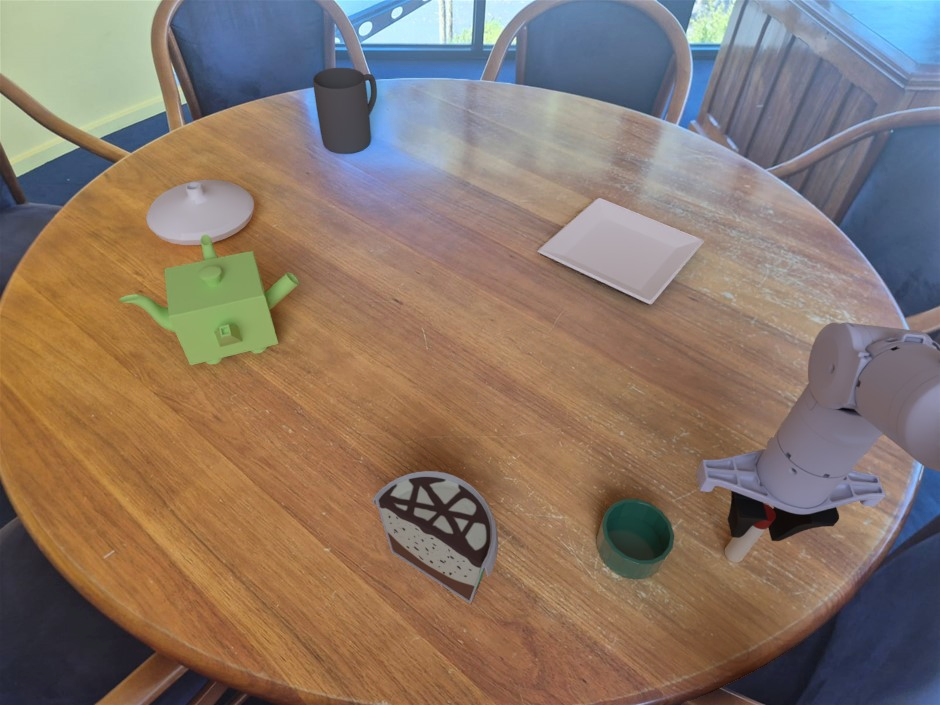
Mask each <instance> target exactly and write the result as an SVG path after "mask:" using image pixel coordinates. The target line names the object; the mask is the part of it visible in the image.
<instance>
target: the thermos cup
mask: <svg viewBox="0 0 940 705" xmlns="http://www.w3.org/2000/svg"><path fill="white" fill-rule="evenodd" d="M675 538H676V537H675V533H674V530H673V525H672V522H671V521H670V519H669V518H668V517H667V516H666V515H665V512H663V511H662V510H661V509H660V508H658V507H657V506H656V505H654V504H652V503H651V502H648V501H645V500H643V499H639V498H623V499H621V500H618V501H616V502H614V503H612V504H611V505H610V506H609V507H608V509H606V511H605V512H604V515H603V518H602V519H601V522H600V525H599V528H598V532H597V535H596V548H597V553H598V554H599V557H600V559H601V560H602V562H603V563H604V565H606V566H607V568H608V569H610V570H611V571H612V573H615V574H616V575H618V576H620V577H622V578H624V579H625V578H626V579H629V580H644V579H648V578H650V577H653V576H654V575H656V574H657V573H658V572H659V571H660V569H661V568H662V567H663V565H664V564H665V562H666V561H667V559H668V557H669V556H670V555H671V552H672V550H673V549H674V542H675Z"/></svg>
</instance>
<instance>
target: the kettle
mask: <svg viewBox="0 0 940 705" xmlns="http://www.w3.org/2000/svg"><path fill="white" fill-rule="evenodd" d="M200 246H201V251H202V257H203V260H199V261H195V262H191V263H184V264H179V265H175V266H170V267H167V268H164V269H163V271H164V281H165V292H166V302H167V307H165V306H162V305H161V304H160V303H159V304H158V302H156V300H153V298H151V297H149V296H147V295H144V294H139V293H134V294H128V295H124V296H121V297H120V298H118V301H119V303H124V304H125V303H126V304H131V305H136V306H138V307H140V308H142V309H143V311H145V312H146V313H147V314H148V315H149V316H150V317H151V318H152V319H153V320H154V321H155V322H156V323H157V324H158V325H159V326H160V327H162V329H164V330H166V331H169V332H172V333H175V335H176V337H177V339H178V341H179V344H180V346H181V348H182V350H183V352H184V355H185V357H186V359H187V361H188V364H189V365H190V366H194V365H198V364H202V363H206V364H208V365H217V364H219V363H220V362H221V361H222V360H223V359H224V358H226V357H231V356H235V355H239V354H244V353H247V352H250V353H253V354H260V353H263V352H264V351H266V350H267V348H268V347H272V346H276V345H279V340H278V337H277V333H276V332H277V331H276V329H275V325H274V320H273V316H272V313H271V310H272V309H273V308H274V307H275V306H276V305H277V304H278V303H280V302H281V301H282V300H283V299H284V298H285V297H287V296H288V295H289V294H290V293H291V292H292V291H294V290H295V289H296V288H297V287H298V286H300V281H299V279H298V278H297V277H296V275H294V274H293V273H291V272H288V271H287V272H286V273H285V274H283V275H282V276H281V277H280V278H279V279H278V280H277V281H276V282H275V283H274V284H273V285H272V286H270V287H268V289H267V290H266V291H265V287H264V284H263V280H262V277H261V273H260V270H259V266H258V263H257V262H258V261H257V260H256V255H255V252H254V250H250V251H244V252H240V253H234V254H229V255H225V256H220V257H219V256H218V254H217V252H216V250H215V247H214V243H212V241H211V238H210V237H209V236H208V235H203V236H202V237H201V245H200Z"/></svg>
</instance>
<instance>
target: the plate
mask: <svg viewBox="0 0 940 705" xmlns="http://www.w3.org/2000/svg"><path fill="white" fill-rule="evenodd" d="M704 243H705V240H704V239H702V238H701V237H698V236H695V235H692V234H690V233H687V232H685V231H682V230H680V229H678V228H675V227H673V226H670V225H668V224H666V223H662V222H661V221H658V220H656V219H653V218H650V217H648V216H647V215H646V216H645V215H643V214H641V213H638V212H635V211H633V210H632V209H631V210H630V209H628V208H626V207H623V206H621V205H618V204H616V203H614V202H611V201H609V200H606V199H604V198H602V197H596V198H595V199H594V200H593V201H592V202H591V203H589V204H588V206H586V207H585V208H584V209H582V211H580V212H579V213H578V214H577V215H575V217H573V219H571V220H570V221H569V222H568V223H567V224H566V225H564V226H563V227H562V228H561V229H560V230H559V231H558V232H556V234H554V235H553V236H552V237H551V238H550V239H549V240H547V241H546V242H545V243H544V244H543V245H542V246H541V247H539V249H537V253H538V254H539V255H540V256H542V257H545V258H546V259H549V260H551V261H552V262H553V261H554V262H555V263H558V264H559V265H561V266H564V267H565V268H568V269H570V270H572V271H574V272H576V273H578V274H581V275H583V276H585V277H587V278H589V279H591V280H594V281H596V282H598V283H600V284H602V285H605V286H606V287H609V288H611V289H613V290H615V291H618V292H619V293H621V294H623V295H626V296H628V297H631V298H633V299H635V300H637V301H639V302H641V303H643V304H645V305H647V306H648V305H653V303H654V302H655V301H656V300H657V298H659V296H660V295H661V294H662V293H663V291H665V289H666V287H668V285H669V284H670V283H671V282H672V280H673V279H674V278H676V276H677V275H678V274H679V272H680V271H682V269H683V268H684V266H685V265H687V263H688V262H689V260H690V259H691V258H692V257H693V256H694V254H695V253H696V252H697V251H698V250H699V249H700V247H701V246H702V245H703V244H704Z"/></svg>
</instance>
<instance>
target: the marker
mask: <svg viewBox="0 0 940 705" xmlns="http://www.w3.org/2000/svg"><path fill="white" fill-rule="evenodd" d="M764 506H765V510H766V514H767V517H768V520H764V521H760V522H758V523H756V524H754V525H753V526H752V527H751V528H750V529H749V530H748V531H747V532H746V533H745V534H744V536H742V537H740V538H735V537H732V538H731V540H730V541H729V542H728V543H727V545H726V546H725V548H724V552H723V553H724V556H725V557H726V559H727V560H728V561H730V562H732V563H740V562H742V561H743V559H744V558H745V557H746V556H747V555H748V553H749V552H750V551H751V549H752V548H753V547H754V545H755V544H756V543H757V542H758V541H759V539H760V538H761V537H762V535H763V534H764V533H765V531H766V530H767V529H768V527H769V526H770V525H771V524H772V522H773V521H774V520H775V518H776V514H775V511H774V510H773V508H774V507H773V506H771V505H768V504H766V503H764Z"/></svg>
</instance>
